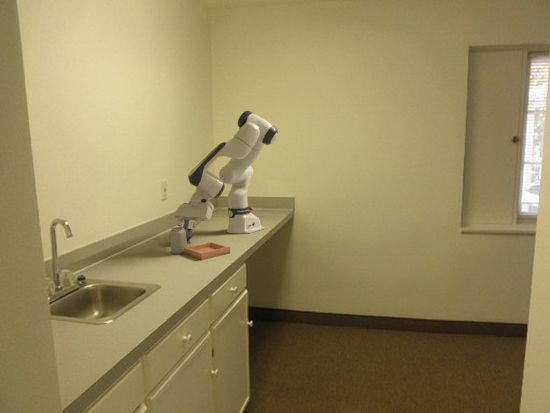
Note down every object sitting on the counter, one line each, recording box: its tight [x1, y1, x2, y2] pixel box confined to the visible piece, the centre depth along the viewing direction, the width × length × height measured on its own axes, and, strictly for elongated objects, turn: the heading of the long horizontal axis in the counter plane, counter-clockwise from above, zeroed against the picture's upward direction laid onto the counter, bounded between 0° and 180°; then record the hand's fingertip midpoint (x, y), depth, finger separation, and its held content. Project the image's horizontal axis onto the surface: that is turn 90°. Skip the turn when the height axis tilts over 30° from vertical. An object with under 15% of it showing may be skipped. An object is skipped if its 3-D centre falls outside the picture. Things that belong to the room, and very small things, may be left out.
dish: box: [183, 241, 231, 261], centre depth 196 cm, size 15×15×3 cm
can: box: [169, 226, 188, 255], centre depth 199 cm, size 8×8×12 cm
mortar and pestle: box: [182, 220, 194, 245], centre depth 219 cm, size 11×9×12 cm
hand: (186, 226), depth 202 cm, fingers open, 8 cm apart
